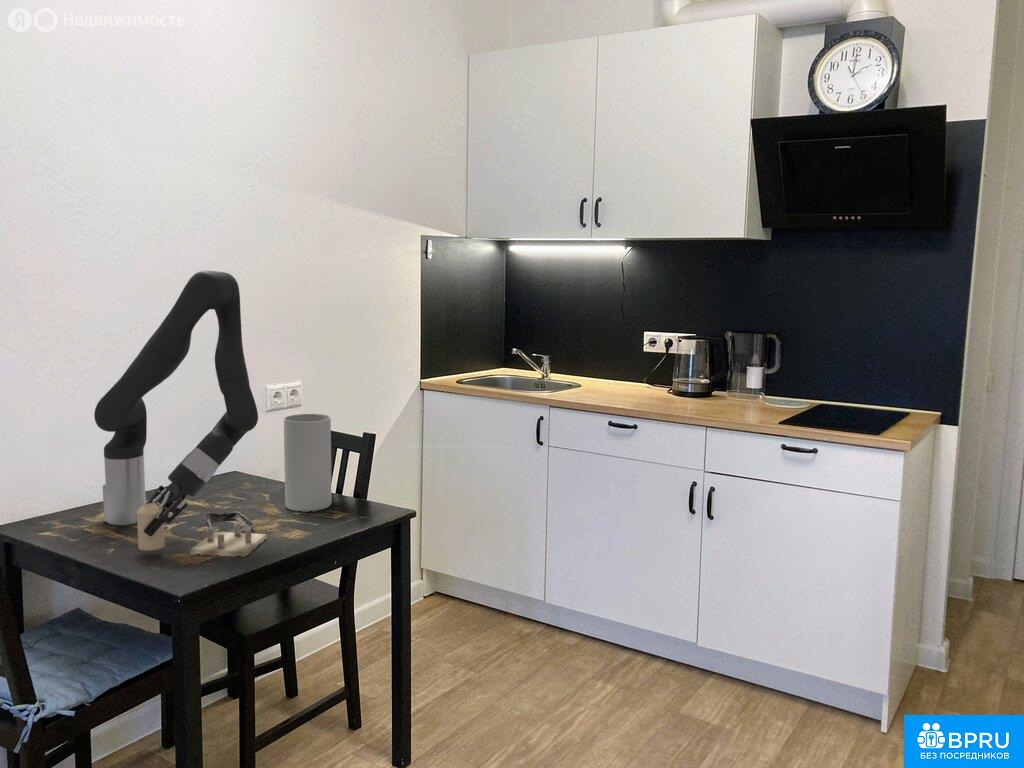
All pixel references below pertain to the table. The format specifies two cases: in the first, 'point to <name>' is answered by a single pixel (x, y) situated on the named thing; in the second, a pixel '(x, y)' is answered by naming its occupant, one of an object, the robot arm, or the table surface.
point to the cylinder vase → (307, 462)
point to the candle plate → (228, 543)
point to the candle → (143, 520)
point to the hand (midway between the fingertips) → (142, 530)
